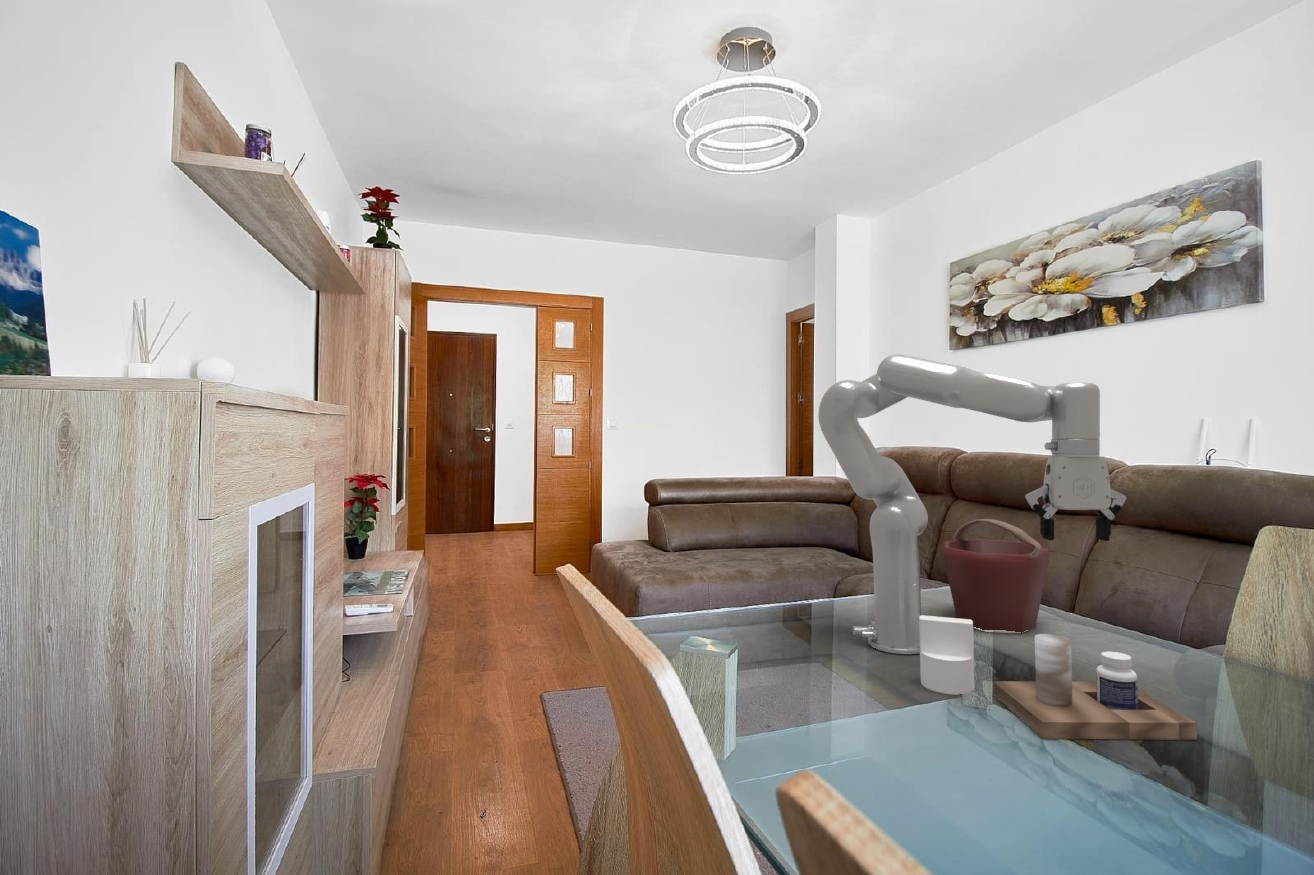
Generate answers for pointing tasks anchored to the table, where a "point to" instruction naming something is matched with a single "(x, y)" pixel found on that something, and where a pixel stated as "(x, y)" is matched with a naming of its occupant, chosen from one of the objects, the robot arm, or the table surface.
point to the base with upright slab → (946, 654)
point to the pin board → (1083, 703)
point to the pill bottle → (1117, 682)
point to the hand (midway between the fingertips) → (1075, 539)
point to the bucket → (996, 578)
